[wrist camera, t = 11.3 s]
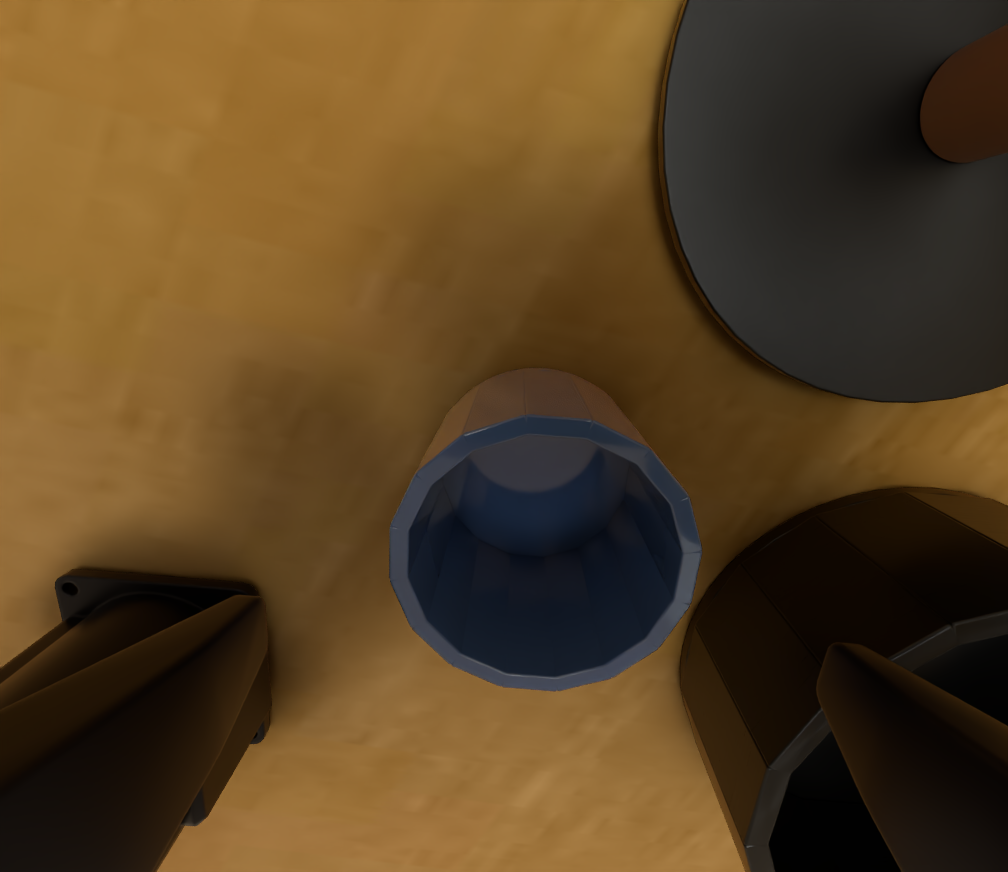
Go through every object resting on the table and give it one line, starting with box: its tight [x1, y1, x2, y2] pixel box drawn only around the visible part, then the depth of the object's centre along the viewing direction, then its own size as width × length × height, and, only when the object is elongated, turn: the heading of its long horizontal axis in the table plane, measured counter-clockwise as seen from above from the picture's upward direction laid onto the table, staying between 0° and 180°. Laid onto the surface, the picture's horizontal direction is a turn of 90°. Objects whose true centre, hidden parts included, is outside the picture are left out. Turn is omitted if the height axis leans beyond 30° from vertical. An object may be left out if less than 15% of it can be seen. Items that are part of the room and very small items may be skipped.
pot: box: [680, 488, 1008, 872], centre depth 14 cm, size 13×13×6 cm
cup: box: [389, 368, 702, 691], centre depth 13 cm, size 6×6×6 cm
